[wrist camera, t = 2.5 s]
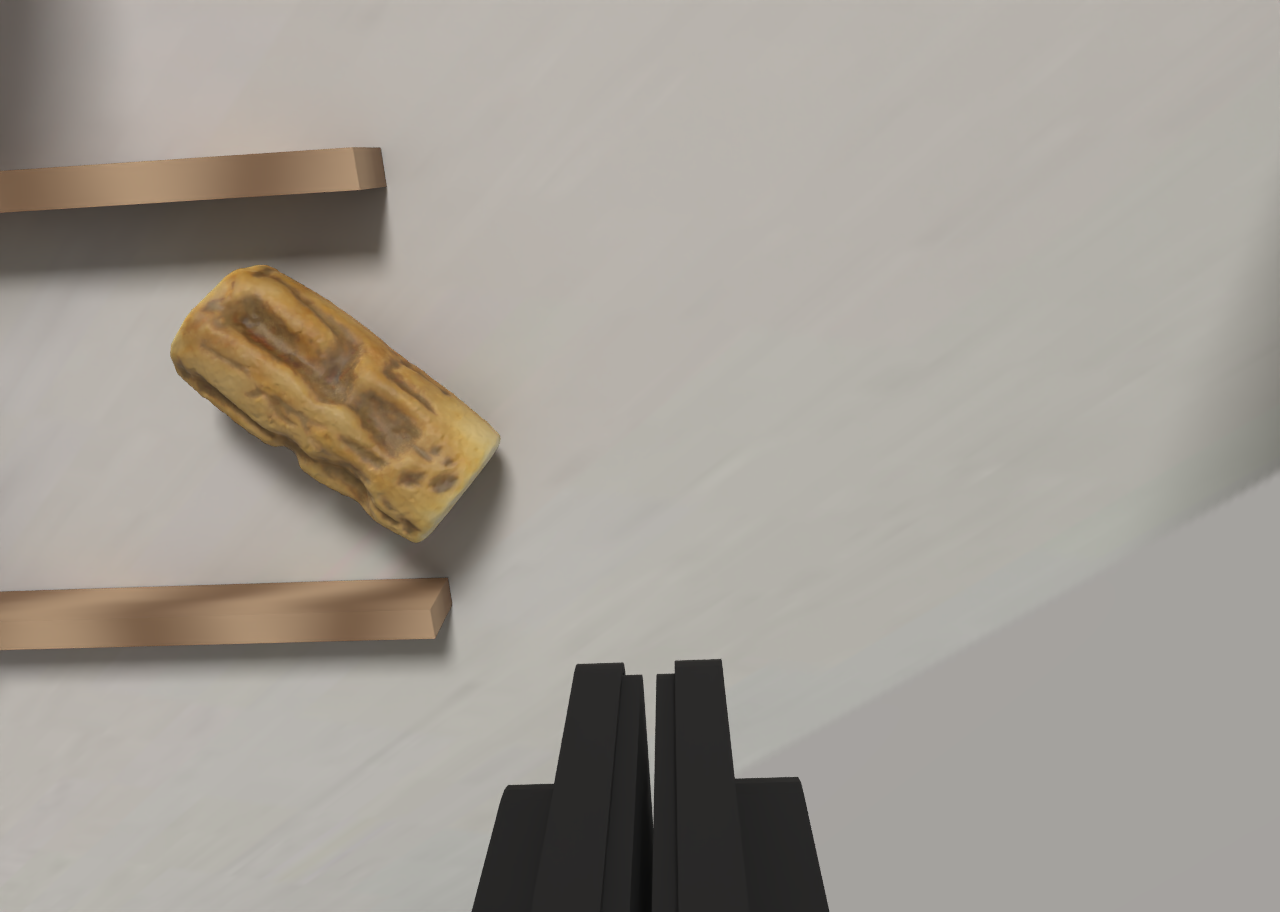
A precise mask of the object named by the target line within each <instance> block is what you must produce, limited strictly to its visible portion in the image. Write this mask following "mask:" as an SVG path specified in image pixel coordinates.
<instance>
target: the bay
mask: <svg viewBox="0 0 1280 912" xmlns="http://www.w3.org/2000/svg"><path fill="white" fill-rule="evenodd" d="M380 187H387V186H386V180H385V174H384V167H383V161H382V155H381V148H365V147H351V148H336V149H321V150H306V151H291V152H277V153H262V154H247V155H232V156H217V157H202V158H187V159H172V160H157V161H142V162H127V163H112V164H98V165H83V166H68V167H53V168H38V169H23V170H8V171H0V213H4V212H20V211H36V210H51V209H67V208H83V207H99V206H114V205H130V204H146V203H162V202H177V201H193V200H209V199H225V198H240V197H256V196H272V195H288V194H303V193H319V192H335V191H351V190H363V189H371V188H380ZM451 606H452V601H451V594H450V588H449V582H448V578H419V579H387V580H355V581H323V582H292V583H260V584H228V585H196V586H165V587H133V588H101V589H69V590H38V591H6V592H0V650H22V649H60V648H97V647H135V646H173V645H210V644H248V643H286V642H323V641H361V640H398V639H435V638H436V636H437V634H438V632H439V630H440V628H441V626H442V624H443V622H444V620H445V618H446V616H447V614H448V612H449V610H450V608H451Z"/></svg>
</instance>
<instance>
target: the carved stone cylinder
mask: <svg viewBox="0 0 1280 912" xmlns="http://www.w3.org/2000/svg"><path fill="white" fill-rule="evenodd" d="M170 356H171V359H172V361H173V363H174V366H175V369H176V371H177V373H178V375H179V376H181V377H182V378H183V380H185V381H186V382H187V383H188V384H189V385H190V386H191V387H193V388H194V389H195V390H196V391H197V392H198V393H199V394H200V395H201V396H202V397H204V398H206V399H208V400H209V401H210V402H211V403H212V404H213V405H214V406H216V407H217V408H218V409H219V410H221V411H222V412H224V413H226V414H227V415H228V416H229V417H230V418H231V419H232V420H233V421H234V422H235V423H237V424H238V425H240V426H241V427H243V428H244V429H245V430H247V431H248V432H249V433H250V434H252V435H254V436H256V437H257V438H258V439H260V440H261V441H263V442H264V443H265V444H269V445H271V446H274V447H277V446H285V447H287V448H289V449H290V450H292V451H293V452H294V453H295V454H296V456H297V459H298V462H299V465H300V468H301V469H302V470H303V471H304V472H305V473H307V474H308V475H310V476H311V477H312V478H314V479H315V480H317V481H318V482H319V483H322V484H324V485H326V486H327V487H329V488H331V489H333V490H335V491H337V492H339V493H340V494H342V495H345V496H349V497H350V498H352V499H354V500H355V501H357V502H358V503H359V504H360V505H361V506H362V507H363V509H364V510H365V511H366V513H368V514H369V515H370V516H371V517H372V519H374V520H375V521H376V522H377V523H379V524H381V525H382V526H384V527H386V528H388V529H389V530H391V531H393V532H394V533H396V534H398V535H401V536H402V537H404V538H406V539H408V540H409V541H411V542H414V543H418V542H421V541H423V540H424V539H426V538H427V537H428V536H429V535H430V534H431V533H432V532H433V531H434V530H435V528H436V527H437V526H438V525H439V523H440V522H441V521H442V520H443V519H444V517H445V516H446V515H447V514H448V512H449V511H450V510H451V509H452V507H453V506H454V505H455V503H456V502H457V501H458V500H459V498H460V497H461V496H462V495H463V493H464V492H465V491H466V490H467V488H468V487H469V486H470V485H471V483H472V482H473V481H474V480H475V478H476V477H477V476H478V474H479V473H480V472H481V470H482V469H483V468H484V467H485V465H486V464H487V463H488V461H489V460H490V459H491V457H492V456H493V454H494V453H495V451H496V449H497V448H498V446H499V444H500V435H499V434H498V433H497V432H496V431H495V430H494V429H493V428H492V427H491V426H490V424H488V423H487V421H485V420H484V419H482V418H481V417H480V416H479V415H478V414H477V413H476V412H474V411H473V410H472V409H470V408H469V407H468V406H467V405H466V404H465V403H464V402H463V401H461V400H460V399H458V398H457V397H456V396H455V395H454V394H453V393H451V392H450V391H448V390H447V389H446V388H445V387H443V386H442V385H440V384H439V383H438V382H436V381H434V380H433V379H432V378H431V377H430V376H428V375H427V374H426V373H425V372H424V371H422V370H421V369H419V368H418V367H417V366H415V365H413V364H411V363H410V362H408V361H407V360H406V359H405V358H403V357H402V356H401V355H400V354H398V353H397V352H395V351H394V350H393V349H391V348H390V347H389V346H388V345H387V344H386V343H385V342H383V341H382V340H381V339H380V338H379V337H377V336H376V335H375V334H374V333H372V332H371V331H370V330H369V329H367V328H366V327H365V326H363V325H362V324H361V323H359V322H358V321H357V320H355V319H354V318H353V317H351V316H350V315H348V314H347V313H346V312H344V311H343V310H341V309H339V308H338V307H337V306H335V305H334V304H333V303H332V302H330V301H329V300H327V299H325V298H324V297H322V296H320V295H319V294H318V293H316V292H314V291H312V290H311V289H309V288H307V287H305V286H304V285H302V284H300V283H299V282H297V281H295V280H293V279H292V278H290V277H288V276H286V275H285V274H283V273H280V272H279V271H278V270H277V269H275V268H272V267H270V266H267V265H255V266H251V267H247V268H240V269H237V270H235V271H233V272H231V273H230V274H228V275H227V276H225V278H224V279H223V280H222V281H221V282H220V283H219V284H218V285H217V286H216V287H215V288H214V289H213V290H212V291H211V292H209V293H208V294H207V296H206V297H205V298H204V299H203V300H202V301H201V302H200V303H199V304H198V305H197V306H196V307H195V308H194V309H192V311H191V312H190V313H189V314H188V315H187V317H186V318H185V320H184V322H183V323H182V325H181V327H180V329H179V331H178V332H177V334H176V336H175V338H174V340H173V342H172V344H171V352H170Z"/></svg>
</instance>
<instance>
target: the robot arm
mask: <svg viewBox="0 0 1280 912" xmlns="http://www.w3.org/2000/svg"><path fill="white" fill-rule="evenodd" d="M472 912H829V908H828V904H827V899H826V895H825V890H824V886H823V880H822V876H821V871H820V867H819V862H818V857H817V853H816V848H815V844H814V839H813V834H812V830H811V825H810V820H809V816H808V811H807V807H806V802H805V798H804V793H803V789H802V785H801V782H800V780H799V778H798V777H779V778H745V779H735V777H734V768H733V759H732V750H731V741H730V732H729V722H728V713H727V704H726V695H725V686H724V677H723V668H722V660H721V659H710V660H682V661H675V674H657V679H656V728H655V778H654V828H653V817H652V802H651V788H650V774H649V759H648V745H647V730H646V716H645V702H644V687H643V677H642V675H625V667H624V663H597V664H577V665H576V668H575V672H574V677H573V683H572V688H571V694H570V699H569V705H568V710H567V716H566V721H565V727H564V732H563V738H562V743H561V749H560V754H559V760H558V765H557V771H556V776H555V782H554V784H531V785H508V786H507V787H506V789H505V790H504V792H503V795H502V798H501V801H500V805H499V809H498V813H497V816H496V820H495V824H494V828H493V832H492V836H491V839H490V843H489V847H488V851H487V855H486V859H485V862H484V866H483V870H482V874H481V878H480V882H479V886H478V889H477V893H476V897H475V901H474V905H473V909H472Z"/></svg>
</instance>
